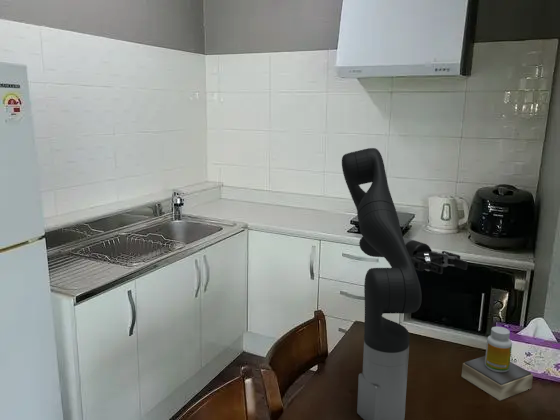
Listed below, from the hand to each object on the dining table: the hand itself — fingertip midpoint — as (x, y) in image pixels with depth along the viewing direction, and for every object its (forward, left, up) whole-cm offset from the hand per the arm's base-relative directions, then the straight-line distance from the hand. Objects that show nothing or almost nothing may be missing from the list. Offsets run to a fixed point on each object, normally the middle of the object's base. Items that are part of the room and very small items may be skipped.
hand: (454, 268), depth 116 cm
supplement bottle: (+2, -13, -22) cm, 26 cm away
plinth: (+2, -13, -26) cm, 29 cm away
